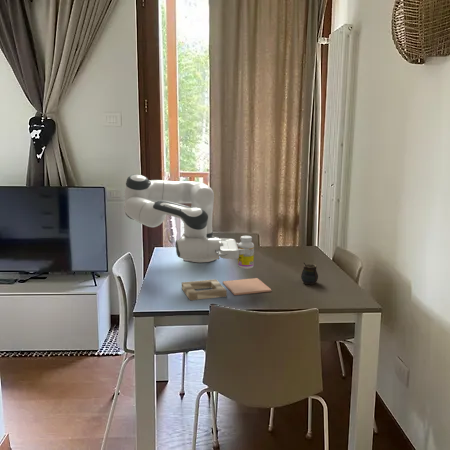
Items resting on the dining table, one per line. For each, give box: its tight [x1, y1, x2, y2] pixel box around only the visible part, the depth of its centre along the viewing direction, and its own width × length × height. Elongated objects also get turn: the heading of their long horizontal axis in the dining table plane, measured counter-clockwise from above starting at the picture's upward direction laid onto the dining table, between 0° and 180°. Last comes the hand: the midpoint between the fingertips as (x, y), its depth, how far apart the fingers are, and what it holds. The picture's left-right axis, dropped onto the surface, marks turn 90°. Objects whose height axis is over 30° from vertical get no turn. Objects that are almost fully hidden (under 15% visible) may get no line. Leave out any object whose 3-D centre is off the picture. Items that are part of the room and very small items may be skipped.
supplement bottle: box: [237, 235, 255, 270], centre depth 196 cm, size 7×7×13 cm
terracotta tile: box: [222, 277, 272, 296], centre depth 199 cm, size 16×16×1 cm
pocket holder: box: [181, 278, 228, 301], centre depth 193 cm, size 15×15×2 cm
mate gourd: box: [300, 262, 319, 285], centre depth 204 cm, size 7×8×10 cm
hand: (248, 248), depth 196 cm, fingers closed on supplement bottle, 7 cm apart
